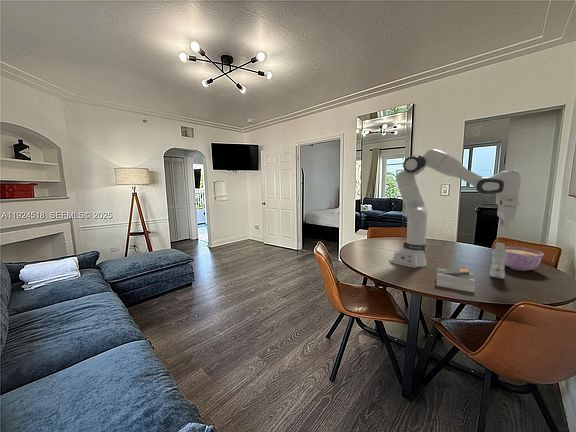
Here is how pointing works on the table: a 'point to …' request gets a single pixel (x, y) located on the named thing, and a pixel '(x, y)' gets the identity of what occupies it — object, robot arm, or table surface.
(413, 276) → the table surface
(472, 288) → the box
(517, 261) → the bowl of food
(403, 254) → the robot arm
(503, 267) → the plastic bottle
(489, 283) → the table surface
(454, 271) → the gray and orange tool
